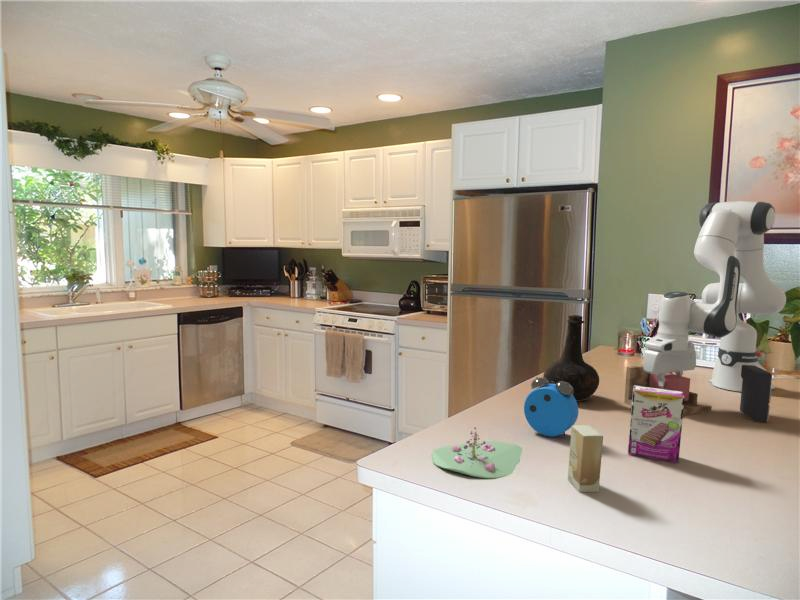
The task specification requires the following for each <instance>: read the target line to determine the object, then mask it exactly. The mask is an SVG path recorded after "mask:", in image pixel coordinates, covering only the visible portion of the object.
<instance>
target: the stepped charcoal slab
mask: <svg viewBox="0 0 800 600" xmlns="http://www.w3.org/2000/svg"><path fill="white" fill-rule="evenodd" d="M765 370H766V369H765ZM765 370H763V369H761V368H759V367H757V366H754V365H742V369H741V377H742V379H743V381H742V392H740V394H741V395H740V404H739V412H740V413H742V414H743V415H745V416H747V417H748V418H749V419H751V420H752V421H754V422H755V423H756V422H757V423H767V422H768V421H769V420H770V409H771V406H770V404H771V398H772V390H773V389H771V388H770V387H771V384H772V381H773V374H772V373H771V372H769V371H768V370H766V371H765Z"/></svg>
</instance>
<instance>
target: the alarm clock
mask: <svg viewBox="0 0 800 600" xmlns="http://www.w3.org/2000/svg"><path fill="white" fill-rule="evenodd" d="M550 382H551V383H554V382H553V381H550ZM547 383H549V382H548V380H547V379H546V378H543V376H541V377H538V376H536V378H534V379H533V380H532V381H531V383H530V388H531V390H532V391H530V392H529V394H528V395H527V396H526V398H525V400H524V403H523V404H524V405H523V412H524V418H525V419H526V422H527V423H528V424H529V426H530V427H531V428H532V429H533V430H534V431H535V432H537V433H538V434H540V435H541V436H545V437H553V438H554V437H558V436H561V435H564V436H565V435H566V432H567V431H569V430H571V429H572V425H576V422H577V420H578V417H579V405H578V401H576V399H575V398H574V396H573V392H574V390H573V387H572V386H571V385H570V384H569V383H567V382H565V381H560V382H558V383H556V384H547ZM545 384H546V385H545Z"/></svg>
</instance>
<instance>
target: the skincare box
mask: <svg viewBox="0 0 800 600" xmlns="http://www.w3.org/2000/svg"><path fill="white" fill-rule="evenodd" d="M570 430H571V433H570V445H569V455H568V458H569V459H568V470H567V471H568V472H567V480H568V481H569V482H570V483H571V484H572V486H573V488H575V489H576V490H577V491H578V492H579V493H599V492H600V479H601V466H602V458H603V457H602V455H603V445H604V443H603V442H604V435H603V434H601V433H600V432H599V431H598V430H597V429H595V428H594V427H593V426H591V425H590V424H589V425H588V424H587V425H585V424H583V425H580V424H579V425H577V424H574V425H572V427H571V428H570Z"/></svg>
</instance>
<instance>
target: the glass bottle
mask: <svg viewBox="0 0 800 600" xmlns="http://www.w3.org/2000/svg"><path fill="white" fill-rule="evenodd" d="M567 317H568V319H567V321H566V322H568V323H567V331H566V337H565V343H564V347H563V351H562V354H561V356H560V358H559V359H558V360H556V361H553V362H551V363H550V364H549V365H547V367H546V368H545V370H544V373H543V376H542V377H543V378H546V379H547V380H548V382H549V383H547V384H556V383H558V382H560V381H565V382H567V383H569V384H570V385H571V386H572V387H573V390H574V392H573V396H574V398H575V399H576V402H580V401H581V402H582V401H585V400H587V399H589V398H590V397H591V396H593V395H594V393H596V391H597V389H598V388H599V385H600V376H599V373H598V372H597V370H596V368H594V367H593V366H592V365H591V364H588V363H586V362H585V360H584V357H583V348H582V342H583V341H582V334H583V333H582V330H583V328H582V326H583V325H582V324H585V320H583V315H582V316H581V315H578V314H573V315H572V314H571V315H568V316H567ZM550 381H553V382H554V383H551V382H550ZM545 385H546V384H545Z"/></svg>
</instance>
